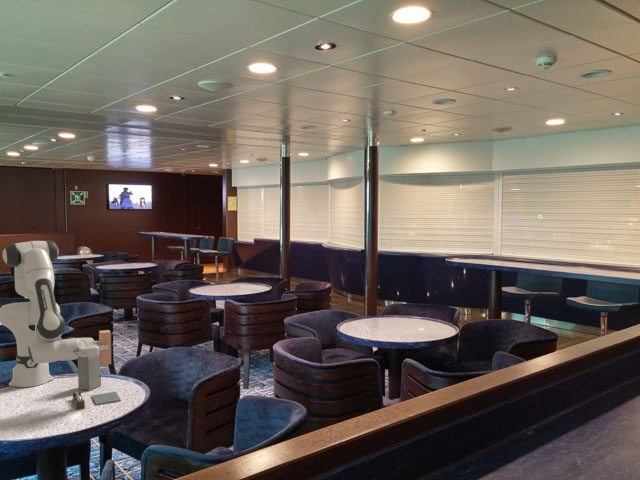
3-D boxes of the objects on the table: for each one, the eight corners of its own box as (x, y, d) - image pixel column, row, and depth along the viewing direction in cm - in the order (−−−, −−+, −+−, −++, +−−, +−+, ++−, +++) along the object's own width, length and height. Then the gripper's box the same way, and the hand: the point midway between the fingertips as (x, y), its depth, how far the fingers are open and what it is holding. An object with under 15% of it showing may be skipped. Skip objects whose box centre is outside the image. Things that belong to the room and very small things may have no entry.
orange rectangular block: (99, 362, 227) (99, 330, 226) (109, 361, 229) (108, 329, 228) (101, 365, 223) (100, 333, 222) (111, 364, 225) (110, 332, 224)
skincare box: (89, 391, 236) (88, 357, 236) (76, 389, 239) (76, 355, 238) (102, 385, 244) (101, 352, 244) (90, 383, 247) (89, 350, 246)
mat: (91, 396, 229) (91, 395, 229) (115, 392, 234) (115, 391, 234) (95, 405, 219) (95, 404, 219) (120, 401, 224) (120, 399, 224)
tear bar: (72, 399, 226) (72, 391, 226) (80, 397, 228) (80, 390, 227) (76, 409, 214) (76, 401, 214) (84, 408, 216) (84, 400, 216)
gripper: (75, 347, 210) (111, 342, 217) (69, 336, 227) (103, 333, 234) (75, 362, 210) (111, 357, 217) (69, 350, 227) (103, 346, 235)
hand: (107, 344), depth 226 cm, fingers closed on orange rectangular block, 5 cm apart
